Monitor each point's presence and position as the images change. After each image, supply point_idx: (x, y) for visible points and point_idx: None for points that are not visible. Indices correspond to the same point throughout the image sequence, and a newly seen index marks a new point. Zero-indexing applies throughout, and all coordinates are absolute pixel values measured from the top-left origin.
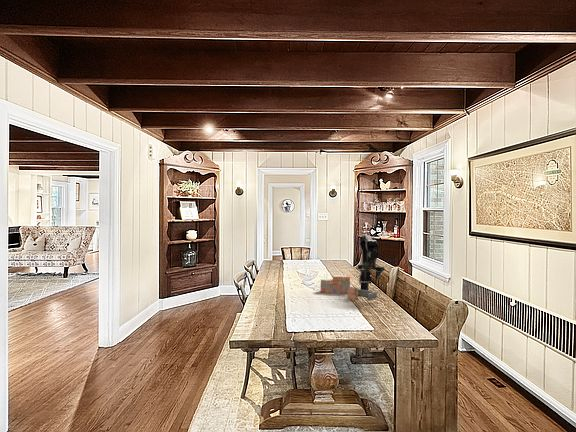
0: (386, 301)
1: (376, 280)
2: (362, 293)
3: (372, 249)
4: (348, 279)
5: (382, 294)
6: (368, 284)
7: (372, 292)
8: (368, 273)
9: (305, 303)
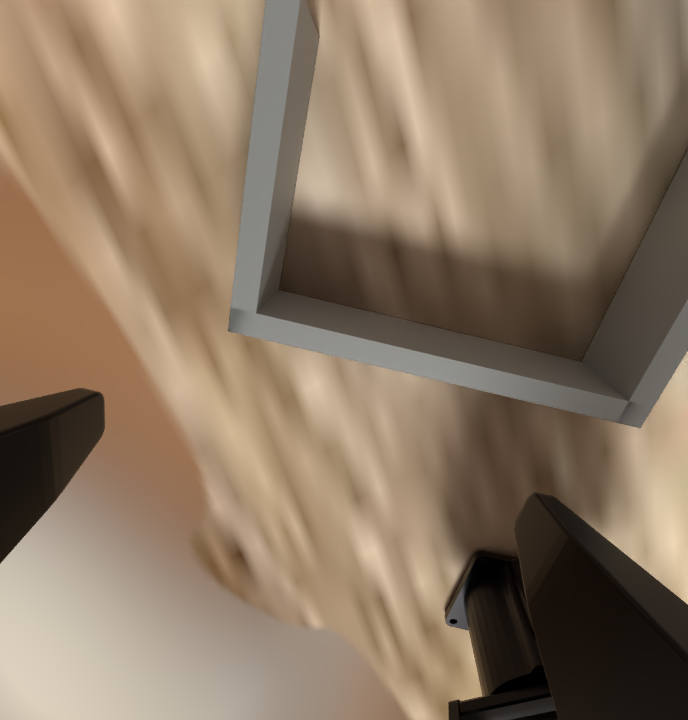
0: (13, 85)
1: (72, 392)
2: (486, 349)
3: None
4: None
5: (271, 528)
6: (482, 693)
7: (304, 319)
8: None
9: None
